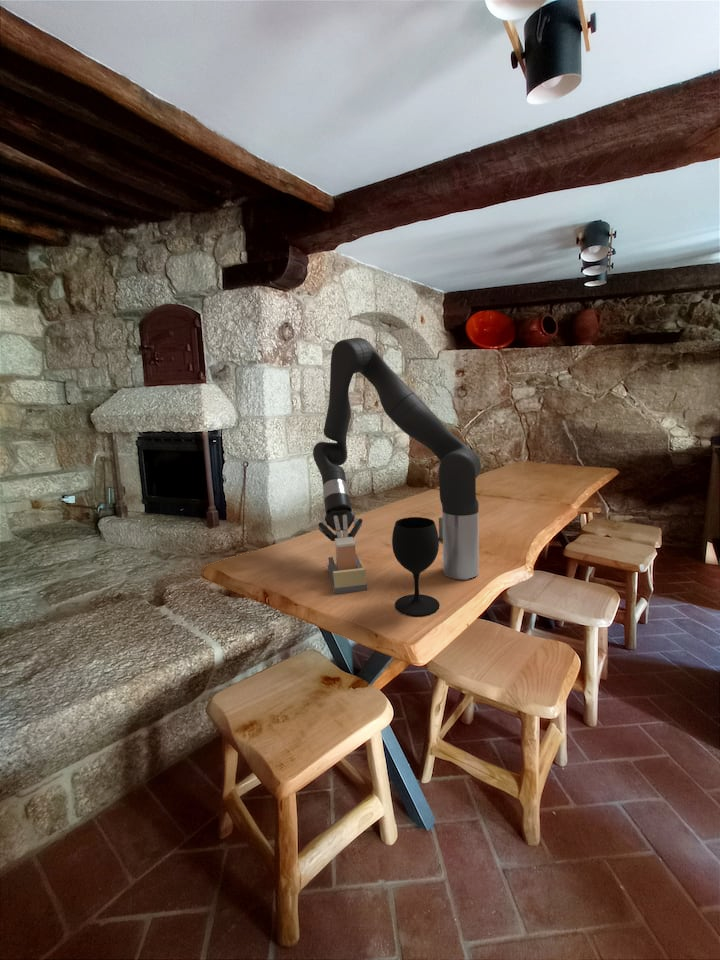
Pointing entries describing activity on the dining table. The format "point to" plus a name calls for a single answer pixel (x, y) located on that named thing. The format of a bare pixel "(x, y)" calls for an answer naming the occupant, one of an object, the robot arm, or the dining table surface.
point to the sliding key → (345, 553)
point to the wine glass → (416, 560)
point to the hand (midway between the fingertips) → (344, 553)
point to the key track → (347, 578)
